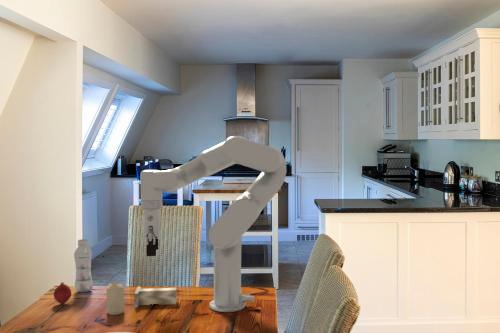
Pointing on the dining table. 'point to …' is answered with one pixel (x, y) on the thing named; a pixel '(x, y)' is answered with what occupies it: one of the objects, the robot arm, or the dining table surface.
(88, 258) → the plastic bottle
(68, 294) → the onion
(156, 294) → the cream upright plaque
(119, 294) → the candle
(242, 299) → the robot arm
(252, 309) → the dining table surface
